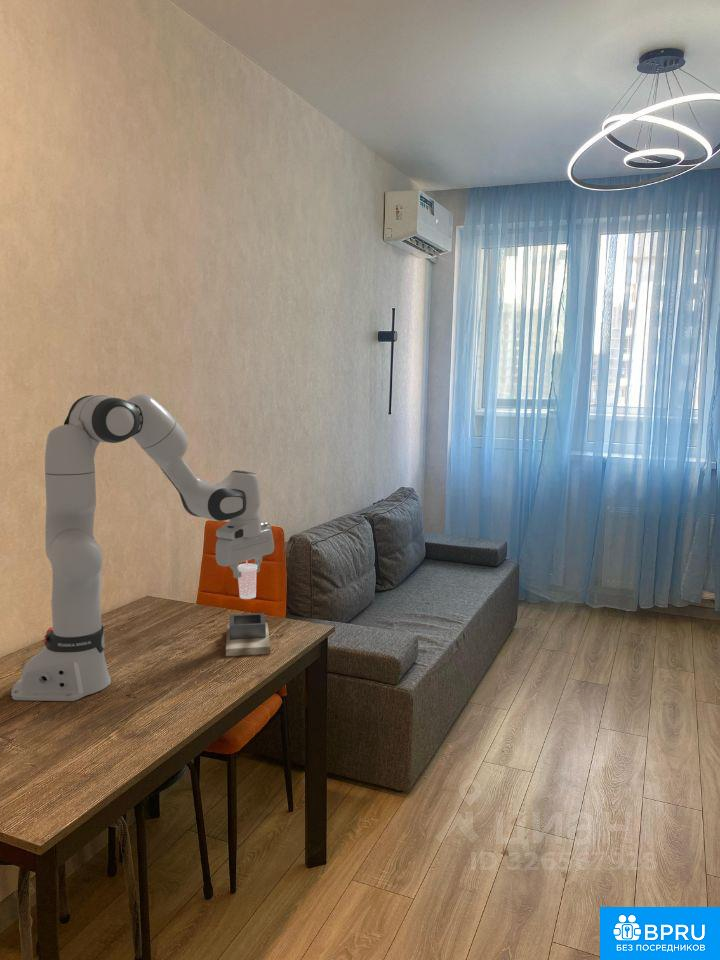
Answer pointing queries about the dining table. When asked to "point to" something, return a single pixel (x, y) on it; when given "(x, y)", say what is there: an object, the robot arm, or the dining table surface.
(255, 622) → the cup collar
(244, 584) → the beverage cup
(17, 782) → the dining table surface
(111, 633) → the dining table surface
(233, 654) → the socket board
